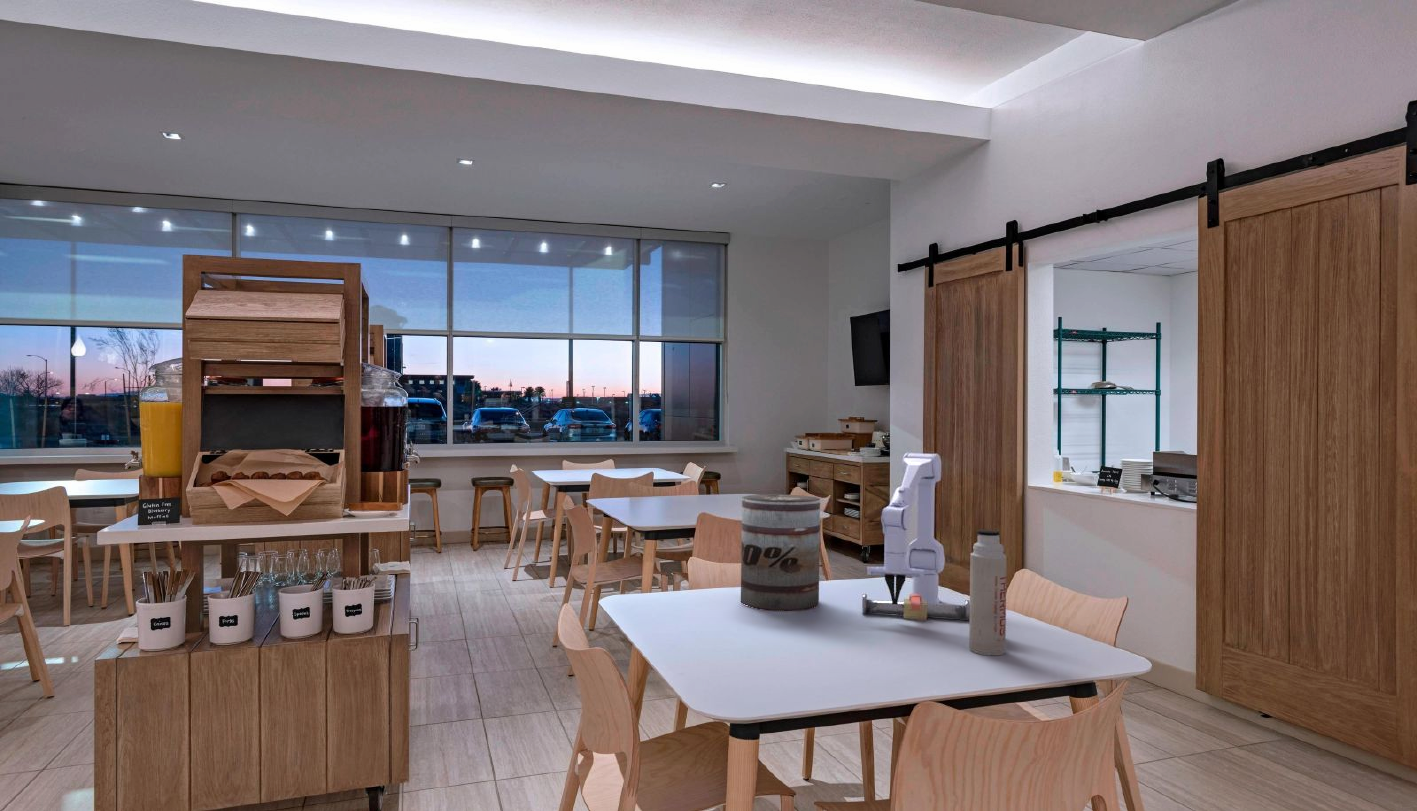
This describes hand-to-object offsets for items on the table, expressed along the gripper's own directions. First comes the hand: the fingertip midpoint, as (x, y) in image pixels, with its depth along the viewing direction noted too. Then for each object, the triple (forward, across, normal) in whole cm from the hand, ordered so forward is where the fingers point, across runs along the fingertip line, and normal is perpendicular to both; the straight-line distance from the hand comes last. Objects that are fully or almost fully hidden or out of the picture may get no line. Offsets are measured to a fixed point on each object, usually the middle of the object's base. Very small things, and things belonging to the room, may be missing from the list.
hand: (894, 603), depth 227 cm
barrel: (+5, -33, +14) cm, 36 cm away
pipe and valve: (+5, +5, +7) cm, 10 cm away
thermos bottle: (+5, +21, -23) cm, 32 cm away
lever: (0, +5, +2) cm, 6 cm away
